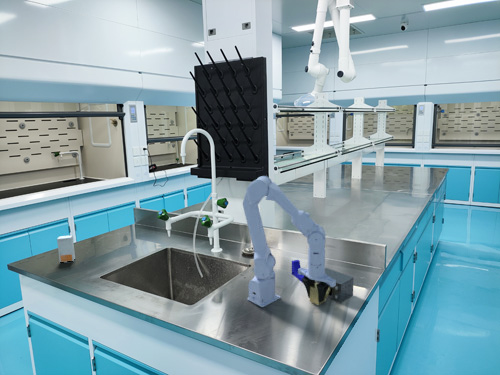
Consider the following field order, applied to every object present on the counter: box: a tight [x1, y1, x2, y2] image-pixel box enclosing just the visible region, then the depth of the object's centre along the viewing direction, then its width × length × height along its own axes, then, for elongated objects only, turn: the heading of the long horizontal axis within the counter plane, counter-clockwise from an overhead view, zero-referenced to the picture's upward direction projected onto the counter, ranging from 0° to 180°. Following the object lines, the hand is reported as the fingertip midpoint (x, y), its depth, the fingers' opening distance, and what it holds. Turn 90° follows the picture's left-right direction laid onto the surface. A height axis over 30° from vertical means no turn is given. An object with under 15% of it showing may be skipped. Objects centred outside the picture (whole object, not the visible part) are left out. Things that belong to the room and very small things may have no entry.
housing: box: [315, 267, 355, 304], centre depth 127 cm, size 9×12×7 cm
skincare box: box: [56, 234, 76, 263], centre depth 164 cm, size 6×4×12 cm
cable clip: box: [291, 259, 304, 284], centre depth 140 cm, size 12×4×6 cm, turn 23°
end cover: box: [309, 283, 332, 306], centre depth 123 cm, size 10×6×6 cm, turn 133°
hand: (315, 299), depth 121 cm, fingers closed on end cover, 4 cm apart
